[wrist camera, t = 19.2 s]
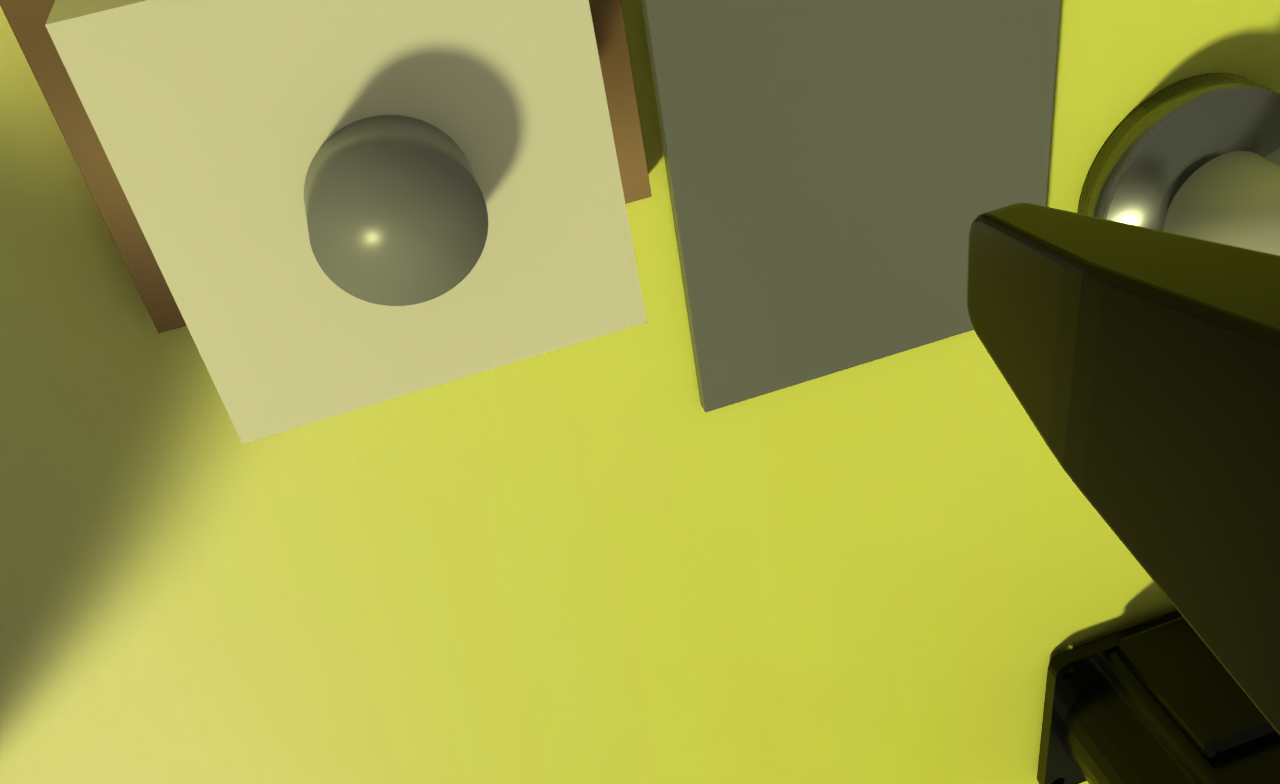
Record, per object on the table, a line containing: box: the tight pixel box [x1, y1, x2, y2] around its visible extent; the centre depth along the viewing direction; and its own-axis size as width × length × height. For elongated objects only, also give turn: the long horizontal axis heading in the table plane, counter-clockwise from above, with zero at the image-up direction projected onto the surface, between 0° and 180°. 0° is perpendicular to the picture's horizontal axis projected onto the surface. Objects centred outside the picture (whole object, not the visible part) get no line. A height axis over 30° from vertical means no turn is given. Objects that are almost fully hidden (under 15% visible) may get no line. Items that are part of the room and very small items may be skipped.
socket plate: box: [641, 0, 1060, 412], centre depth 23 cm, size 10×8×1 cm
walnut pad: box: [0, 0, 651, 333], centre depth 18 cm, size 9×9×1 cm
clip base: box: [1077, 73, 1280, 231], centre depth 25 cm, size 5×5×1 cm
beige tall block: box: [45, 0, 647, 444], centre depth 15 cm, size 5×5×8 cm
